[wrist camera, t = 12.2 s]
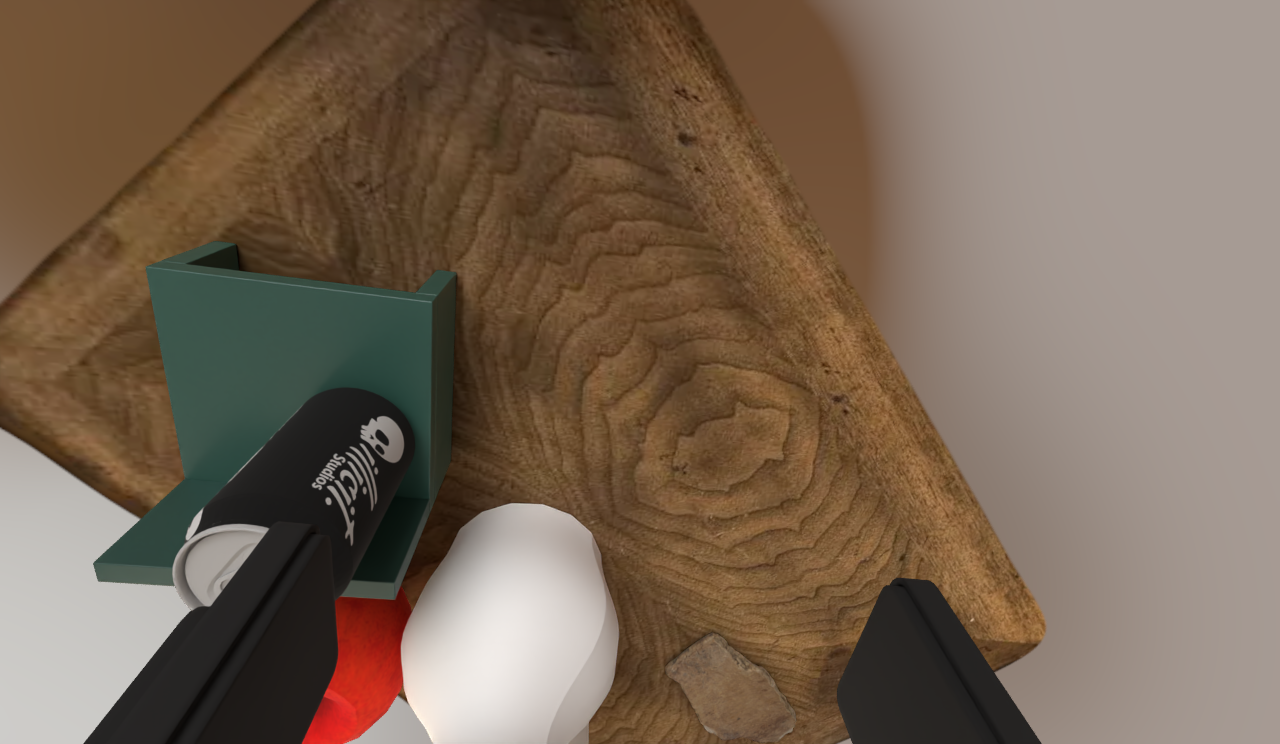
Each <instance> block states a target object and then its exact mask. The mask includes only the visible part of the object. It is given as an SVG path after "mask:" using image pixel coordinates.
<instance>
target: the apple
mask: <svg viewBox="0 0 1280 744" xmlns="http://www.w3.org/2000/svg"><path fill="white" fill-rule="evenodd" d="M335 608H336V623H337V637H338V661H337V665H336V669H335V672H334V675H333V677H332V679H331V682H330V684H329V686H328V688H327V690H326V692H325V695H324V697H323V699H322V701H321V703H320V705H319V708H318V710H317V712H316V714H315V716H314V718H313V721H312V723H311V725H310V727H309V729H308V731H307V734H306V736H305V738H304V740H303V742H302V744H344V743H347V742H349V741H351V740H354V739H357V738H358V737H360V736H361V735H362V734H363V733H364V732H365V731H366V730H368V729H369V728H370V727H371V726H372V725H373V724H374V723H375V722H376V721H377V720H379V719H380V718H381V717H382V716H383V715H384V714H385V713H386V712H387V711H388V709H389V707H390V706H391V704H392V703H393V701H394V700H395V698H396V696H397V695H398V693H399V692H400V690H401V688H402V684H403V672H402V662H401V642H402V637H403V632H404V629H405V627H406V624H407V622H408V619H409V617H410V615H411V613H412V611H411V606H410V604H409V602H408V599H407V597H406V595H405V592H404V590H403V588H402V587H401V586H400V588H399V591H398V593H397V596H396V598H395V600H390V599H374V598H357V597H341V596H340V597H339V598H338V599H337V600H336V601H335Z"/></svg>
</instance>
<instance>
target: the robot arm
mask: <svg viewBox="0 0 1280 744" xmlns="http://www.w3.org/2000/svg"><path fill="white" fill-rule="evenodd" d="M337 661H338V637H337V623H336V608H335V593H334V578H333V564H332V549H331V539H330V537H329V536H328V535H321V533H320V528H319V527H318V525H314V524H303V523H292V522H281V521H278V522H276V523H274V524H273V525H272V526H271V527H270V528H269V530H268V531H267V532H266V534H265V535H264V536H263V538H262V539H261V540H260V542H259V543H258V544H257V546H256V547H255V548H254V550H253V551H252V552H251V553H250V555H249V556H248V557H247V559H246V560H245V561H244V563H243V564H242V565H241V567H240V568H239V569H238V571H237V572H236V573H235V575H234V576H233V577H232V579H231V580H230V581H229V582H228V584H227V585H226V586H225V588H224V589H223V590H222V592H221V593H220V594H219V596H218V597H217V598H216V600H215V601H214V602H213V604H212V605H211V606H200V607H197V608H195V609H194V610H192V611H190V612H189V613H188V614H187V615H186V616H185V617H184V619H182V621H181V622H180V623H179V624H178V625H177V627H176V628H175V629H174V630H173V632H172V633H171V634H170V636H169V637H168V638H167V639H166V640H165V642H164V643H163V644H162V645H161V647H160V648H159V649H158V650H157V652H156V653H155V654H154V655H153V657H152V658H151V659H150V661H149V662H148V663H147V664H146V666H145V667H144V668H143V669H142V671H141V672H140V673H139V674H138V676H137V677H136V678H135V680H134V681H133V682H132V683H131V684H130V686H129V687H128V688H127V689H126V691H125V692H124V693H123V695H122V696H121V697H120V699H119V700H118V701H117V702H116V703H115V705H114V706H113V707H112V708H111V710H110V711H109V712H108V714H107V715H106V716H105V717H104V719H103V720H102V721H101V722H100V724H99V725H98V726H97V727H96V729H95V730H94V731H93V733H92V734H91V735H90V736H89V737H88V739H87V740H86V741H85V742H84V744H302V742H303V740H304V738H305V736H306V734H307V731H308V729H309V727H310V725H311V723H312V721H313V718H314V716H315V714H316V712H317V710H318V708H319V705H320V703H321V701H322V699H323V697H324V695H325V692H326V690H327V688H328V686H329V684H330V682H331V679H332V677H333V675H334V672H335V669H336V665H337ZM837 701H838V706H839V709H840V712H841V714H842V717H843V720H844V722H845V725H846V728H847V730H848V733H849V736H850V738H851V741H852V743H853V744H1041V742H1040V741H1039V739H1038V738H1037V736H1036V735H1035V733H1034V732H1033V730H1032V729H1031V727H1030V726H1029V724H1028V723H1027V721H1026V720H1025V718H1024V717H1023V715H1022V714H1021V712H1020V711H1019V709H1018V708H1017V706H1016V705H1015V703H1014V702H1013V700H1012V699H1011V697H1010V696H1009V694H1008V693H1007V691H1006V690H1005V688H1004V687H1003V685H1002V684H1001V682H1000V681H999V679H998V678H997V676H996V675H995V673H994V672H993V670H992V669H991V667H990V666H989V664H988V663H987V661H986V660H985V658H984V657H983V655H982V654H981V652H980V651H979V649H978V648H977V646H976V645H975V643H974V642H973V640H972V639H971V637H970V636H969V634H968V633H967V631H966V630H965V628H964V627H963V625H962V624H961V622H960V621H959V619H958V618H957V616H956V615H955V613H954V612H953V610H952V609H951V607H950V606H949V604H948V603H947V601H946V600H945V598H944V597H943V595H942V594H941V592H940V591H939V589H938V588H937V587H936V586H935V584H934V583H932V582H931V581H929V580H918V579H907V578H896V579H894V580H893V581H892V582H891V584H890V585H886V586H885V587H884V588H883V589H882V591H881V593H880V595H879V597H878V599H877V601H876V604H875V606H874V608H873V610H872V612H871V615H870V617H869V619H868V621H867V623H866V626H865V628H864V630H863V632H862V634H861V636H860V639H859V641H858V643H857V645H856V647H855V650H854V652H853V654H852V656H851V658H850V660H849V663H848V665H847V667H846V669H845V671H844V674H843V676H842V678H841V680H840V682H839V685H838V688H837Z"/></svg>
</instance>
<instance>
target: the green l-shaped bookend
mask: <svg viewBox="0 0 1280 744" xmlns="http://www.w3.org/2000/svg"><path fill="white" fill-rule="evenodd" d="M146 273H147V278H148V283H149V289H150V294H151V299H152V305H153V310H154V315H155V321H156V326H157V331H158V337H159V342H160V347H161V353H162V358H163V363H164V369H165V374H166V379H167V385H168V390H169V396H170V401H171V406H172V412H173V417H174V422H175V428H176V433H177V438H178V444H179V449H180V454H181V460H182V465H183V470H184V476H185V479H184V480H183V481H182V482H181V483H180V484H179V485H178V486H177V487H175V488H174V489H173V490H172V491H171V492H170V493H169V494H168V495H167V496H166V497H165V498H163V499H162V500H161V501H160V502H159V503H158V504H157V505H156V506H155V507H154V508H153V509H151V510H150V511H149V512H148V513H147V514H146V515H145V516H144V517H143V518H142V519H141V520H139V521H138V522H137V523H136V524H135V525H134V526H133V527H132V528H131V529H130V530H129V531H127V532H126V533H125V534H124V535H123V536H122V537H121V538H120V539H119V540H118V541H117V542H116V543H114V544H113V545H112V546H111V547H110V548H109V549H108V550H107V551H106V552H105V553H103V554H102V555H101V556H100V557H99V558H98V559H97V560H96V561H95V562H94V563H93V565H94V568H95V572H96V576H97V579H98V581H99V582H115V583H131V584H132V583H133V584H148V585H164V586H175V585H174V582H173V575H172V573H173V564H174V560H175V557H176V556H177V554H178V552H179V551H180V549H181V548H182V547H183V546H184V541H185V537H186V533H187V530H188V527H189V525H190V523H191V522H192V520H193V519H194V517H195V516H196V515H197V514H198V513H199V512H200V511H201V510H202V509H203V508H204V506H205V505H206V504H207V503H208V502H209V501H210V500H211V499H212V498H213V497H214V496H215V495H216V494H217V493H218V492H219V491H220V490H221V489H222V488H223V487H224V486H225V485H226V484H227V483H228V482H229V481H230V480H231V479H232V478H233V477H234V475H235V474H236V473H237V472H238V471H239V470H240V469H241V468H242V467H243V466H244V465H245V464H246V463H247V462H248V461H249V460H250V459H251V458H252V457H253V456H254V455H255V454H256V453H257V452H258V451H259V450H260V449H261V448H262V447H263V446H264V444H265V443H266V442H267V441H268V440H269V439H270V438H271V437H272V436H273V435H274V434H275V433H276V432H277V431H278V430H279V429H280V428H281V427H282V426H283V425H284V424H285V423H286V422H287V421H288V420H289V419H290V418H291V417H292V416H293V414H294V413H295V412H296V411H297V410H298V409H299V408H300V407H301V406H302V405H303V404H304V403H305V402H306V401H307V400H309V399H310V398H311V397H313V396H314V395H316V394H318V393H320V392H323V391H326V390H329V389H334V388H341V387H350V388H359V389H364V390H367V391H370V392H373V393H376V394H378V395H380V396H382V397H384V398H385V399H387V400H389V401H390V402H391V403H393V404H394V405H395V406H396V407H397V408H398V409H400V411H401V412H402V413H403V414H404V415H405V417H406V418H407V420H408V421H409V423H410V425H411V427H412V430H413V433H414V437H415V452H414V457H413V459H412V462H411V464H410V466H409V468H408V470H407V472H406V474H405V476H404V478H403V479H402V481H401V483H400V485H399V487H398V489H397V491H396V493H395V495H394V497H393V499H392V501H391V503H390V505H389V507H388V509H387V511H386V513H385V515H384V517H383V519H382V520H381V522H380V524H379V526H378V528H377V530H376V532H375V534H374V536H373V538H372V540H371V542H370V544H369V546H368V548H367V550H366V552H365V554H364V556H363V558H362V560H361V562H360V563H359V565H358V567H357V569H356V571H355V573H354V575H353V577H352V579H351V581H350V583H349V585H348V587H347V588H346V590H345V591H344V593H343V594H342V595H341V597H357V598H374V599H390V600H395V598H396V596H397V593H398V591H399V588H400V586H401V583H402V581H403V578H404V576H405V574H406V571H407V569H408V566H409V564H410V561H411V559H412V556H413V554H414V551H415V549H416V546H417V544H418V541H419V539H420V536H421V534H422V531H423V529H424V526H425V524H426V522H427V519H428V517H429V514H430V511H431V509H432V507H433V504H434V502H435V499H436V497H437V494H438V492H439V489H440V487H441V485H442V482H443V480H444V477H445V475H446V472H447V470H448V467H449V465H450V462H451V439H452V406H453V372H454V339H455V306H456V272H449V271H441V270H437V271H436V272H435V273H434V274H433V275H432V276H431V277H430V278H429V279H428V280H427V281H426V282H425V283H424V284H423V286H422V287H421V288H420V289H419V290H418V291H417V292H416V293H413V292H405V291H397V290H389V289H381V288H373V287H365V286H357V285H349V284H341V283H333V282H325V281H317V280H309V279H301V278H293V277H285V276H277V275H269V274H261V273H253V272H245V271H239V265H238V257H237V248H236V244H234V243H226V242H219V241H214V242H211V243H208V244H206V245H203V246H200V247H197V248H195V249H192V250H189V251H186V252H184V253H181V254H178V255H175V256H173V257H170V258H167V259H164V260H162V261H160V262H157V263H154V264H151V265H149V266H146Z"/></svg>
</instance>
